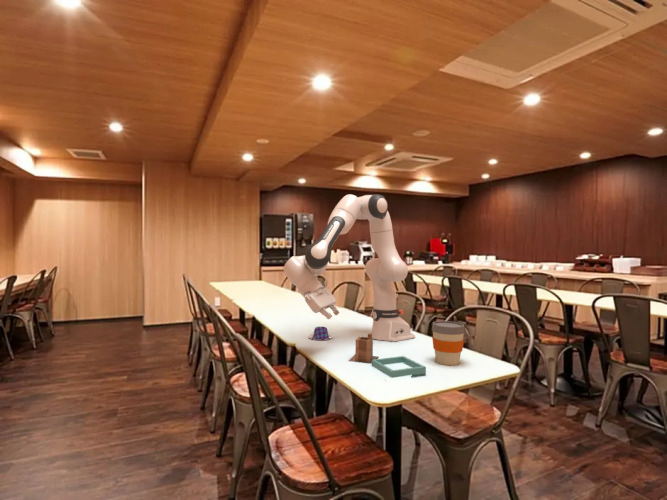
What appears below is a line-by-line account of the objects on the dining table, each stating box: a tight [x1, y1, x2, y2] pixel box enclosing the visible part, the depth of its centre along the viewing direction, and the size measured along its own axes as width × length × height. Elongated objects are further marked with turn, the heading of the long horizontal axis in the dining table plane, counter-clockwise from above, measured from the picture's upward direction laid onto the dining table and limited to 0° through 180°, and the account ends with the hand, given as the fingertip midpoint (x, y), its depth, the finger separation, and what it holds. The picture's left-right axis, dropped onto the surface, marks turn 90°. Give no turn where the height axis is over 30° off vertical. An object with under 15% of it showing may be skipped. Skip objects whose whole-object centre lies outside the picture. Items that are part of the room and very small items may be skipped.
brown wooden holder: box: [354, 332, 374, 362], centre depth 152 cm, size 6×6×10 cm
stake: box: [348, 354, 380, 365], centre depth 152 cm, size 10×10×6 cm
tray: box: [371, 355, 427, 378], centre depth 141 cm, size 14×14×3 cm
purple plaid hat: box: [308, 326, 334, 341], centre depth 189 cm, size 12×12×5 cm
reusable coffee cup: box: [431, 320, 466, 366], centre depth 154 cm, size 13×13×15 cm
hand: (334, 316), depth 156 cm, fingers open, 8 cm apart
